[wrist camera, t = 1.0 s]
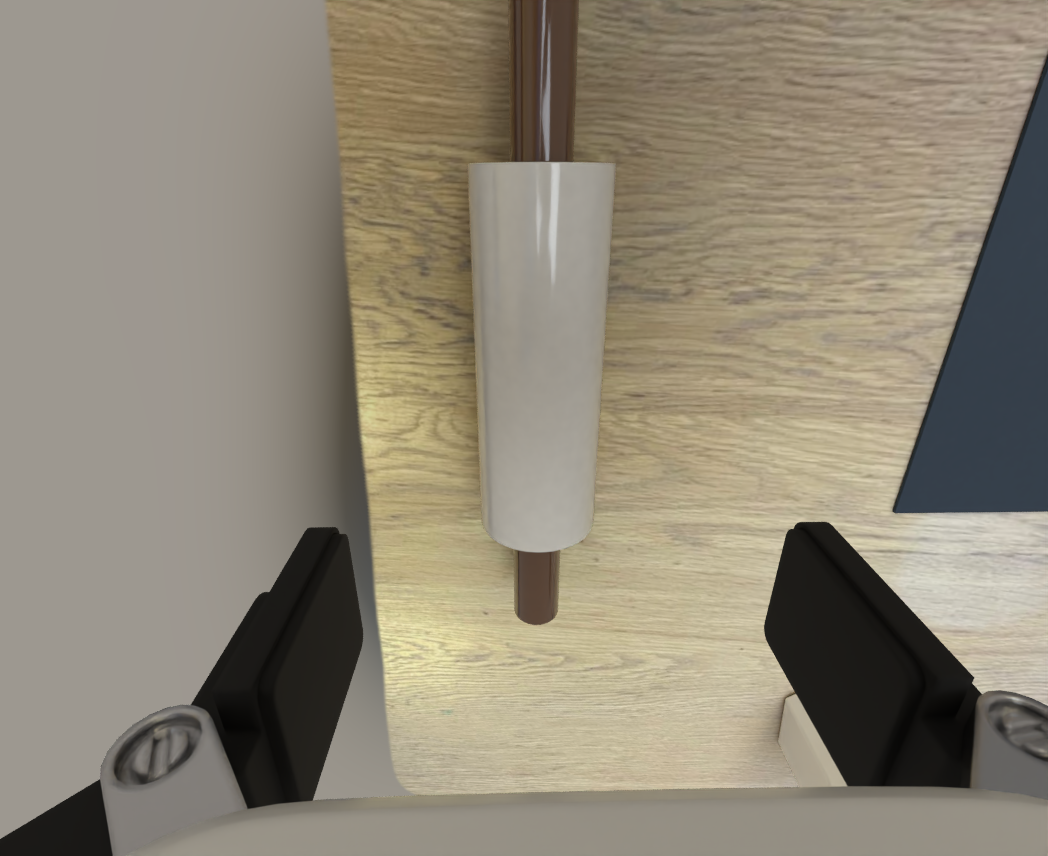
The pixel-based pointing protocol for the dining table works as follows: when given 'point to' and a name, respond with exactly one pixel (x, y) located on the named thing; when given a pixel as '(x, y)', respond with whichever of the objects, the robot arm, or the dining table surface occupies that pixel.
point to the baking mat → (996, 360)
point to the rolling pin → (540, 310)
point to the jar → (806, 749)
